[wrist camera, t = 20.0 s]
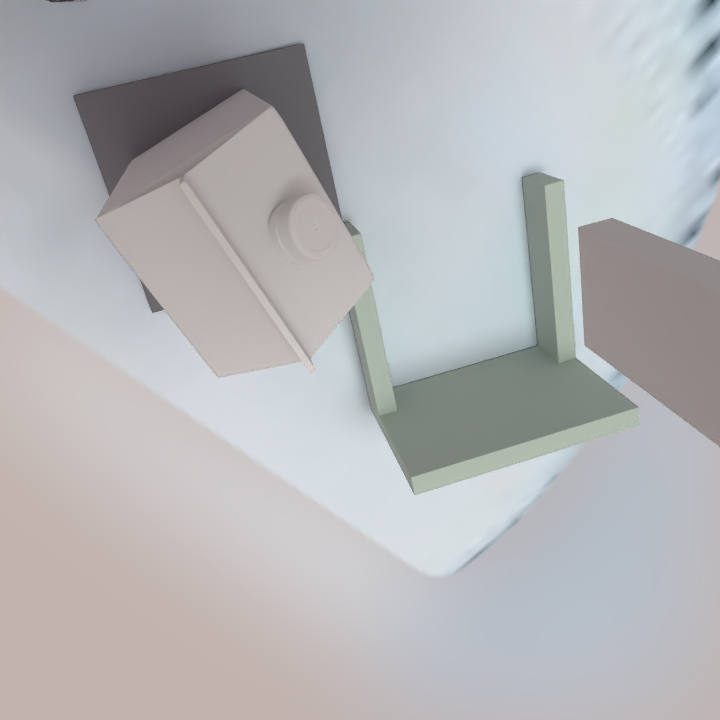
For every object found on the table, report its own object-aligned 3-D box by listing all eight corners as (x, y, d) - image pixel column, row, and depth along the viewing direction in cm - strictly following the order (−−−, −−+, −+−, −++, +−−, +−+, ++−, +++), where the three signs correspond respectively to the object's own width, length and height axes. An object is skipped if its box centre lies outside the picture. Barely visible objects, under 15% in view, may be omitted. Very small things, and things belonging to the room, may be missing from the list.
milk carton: (209, 269, 39) (221, 430, 22) (130, 160, 36) (74, 250, 19) (313, 202, 39) (406, 313, 22) (243, 87, 36) (289, 113, 19)
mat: (74, 95, 35) (73, 95, 34) (302, 43, 36) (303, 43, 36) (152, 310, 40) (152, 312, 39) (348, 257, 41) (350, 259, 41)
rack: (330, 227, 40) (369, 275, 31) (540, 172, 42) (634, 203, 33) (371, 410, 46) (414, 495, 37) (555, 356, 47) (639, 425, 38)
